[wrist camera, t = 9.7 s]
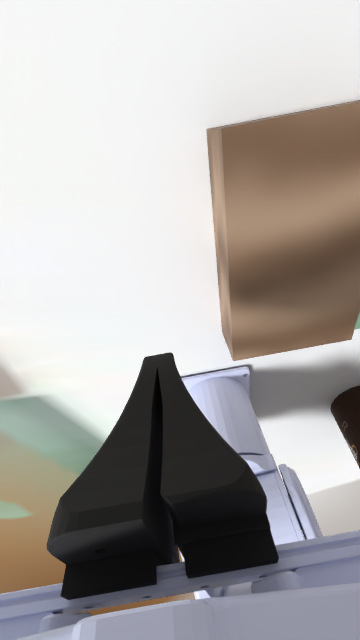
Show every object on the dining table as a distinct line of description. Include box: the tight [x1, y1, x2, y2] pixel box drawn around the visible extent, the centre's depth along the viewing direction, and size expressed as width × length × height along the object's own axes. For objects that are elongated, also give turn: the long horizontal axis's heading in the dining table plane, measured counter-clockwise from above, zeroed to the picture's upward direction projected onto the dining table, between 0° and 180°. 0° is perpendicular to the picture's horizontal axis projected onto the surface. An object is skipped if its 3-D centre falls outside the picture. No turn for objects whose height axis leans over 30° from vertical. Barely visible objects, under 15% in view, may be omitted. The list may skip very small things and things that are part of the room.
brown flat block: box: [207, 100, 360, 361], centre depth 19 cm, size 16×10×4 cm, turn 9°
